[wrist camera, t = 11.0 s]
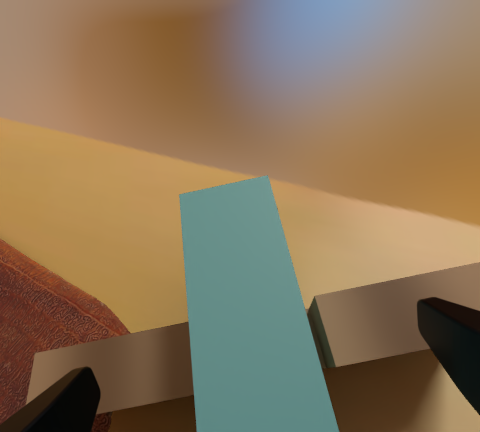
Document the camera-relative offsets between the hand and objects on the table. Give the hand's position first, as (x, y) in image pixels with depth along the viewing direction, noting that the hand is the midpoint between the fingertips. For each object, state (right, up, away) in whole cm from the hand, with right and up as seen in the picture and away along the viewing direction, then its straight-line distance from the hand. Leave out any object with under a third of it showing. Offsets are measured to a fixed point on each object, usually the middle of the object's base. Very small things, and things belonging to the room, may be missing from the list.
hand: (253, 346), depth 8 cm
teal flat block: (+1, -4, +7) cm, 8 cm away
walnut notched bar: (+1, -4, +7) cm, 8 cm away
